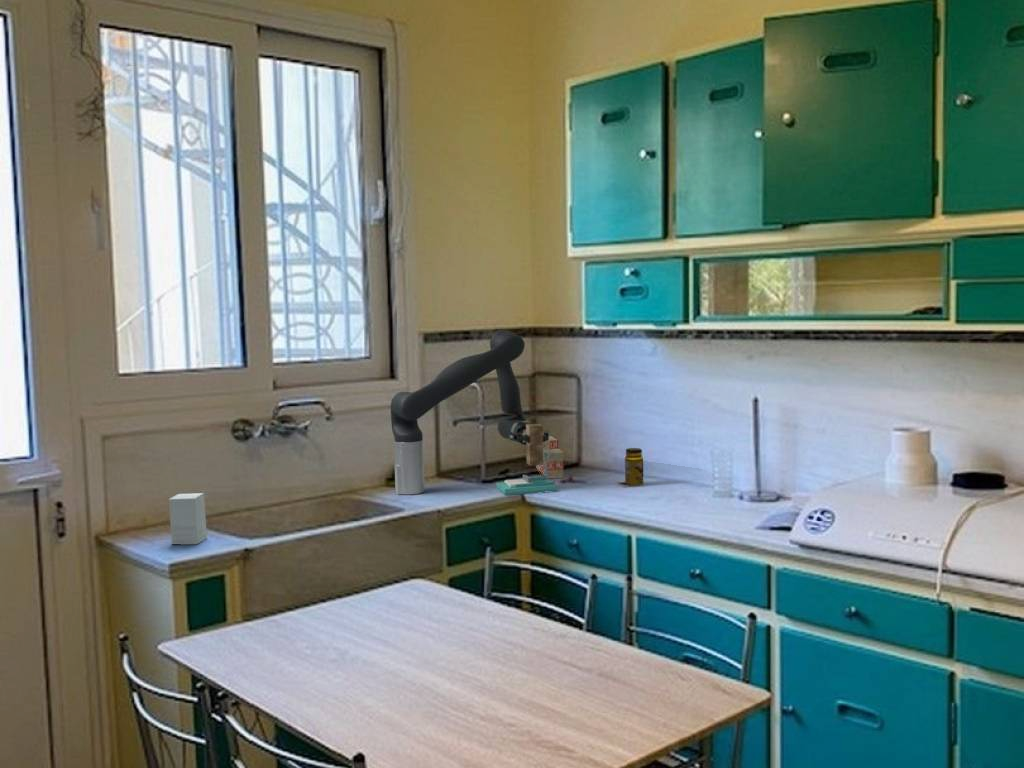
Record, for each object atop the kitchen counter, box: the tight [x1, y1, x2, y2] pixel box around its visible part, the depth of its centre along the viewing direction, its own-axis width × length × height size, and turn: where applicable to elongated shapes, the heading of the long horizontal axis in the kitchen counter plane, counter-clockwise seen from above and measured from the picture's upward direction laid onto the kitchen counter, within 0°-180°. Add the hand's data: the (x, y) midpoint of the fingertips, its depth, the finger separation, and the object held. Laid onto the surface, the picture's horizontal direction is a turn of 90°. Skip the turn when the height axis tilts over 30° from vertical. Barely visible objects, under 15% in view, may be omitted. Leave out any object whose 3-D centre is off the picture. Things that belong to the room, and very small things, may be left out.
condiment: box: [616, 447, 647, 488], centre depth 336 cm, size 7×8×12 cm
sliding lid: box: [504, 474, 533, 487], centre depth 331 cm, size 8×8×2 cm
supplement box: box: [168, 492, 208, 545], centre depth 272 cm, size 7×7×13 cm
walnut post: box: [525, 423, 544, 467], centre depth 331 cm, size 4×4×13 cm
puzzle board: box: [495, 476, 557, 496], centre depth 331 cm, size 17×12×3 cm
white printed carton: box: [535, 435, 565, 479], centre depth 361 cm, size 21×6×12 cm, turn 9°
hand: (536, 439), depth 328 cm, fingers closed on walnut post, 4 cm apart
